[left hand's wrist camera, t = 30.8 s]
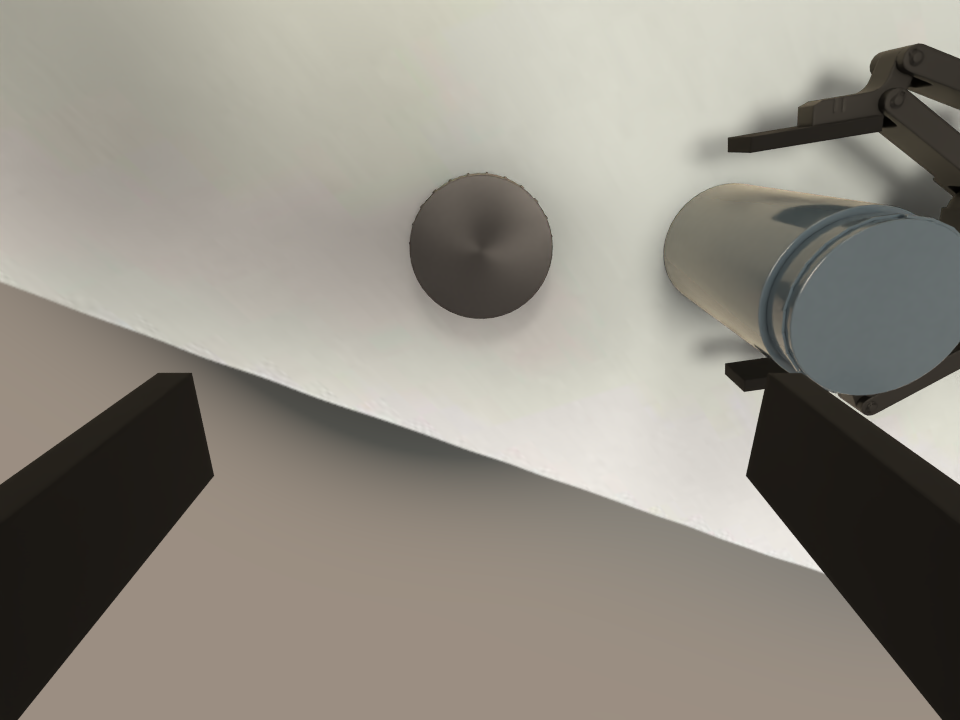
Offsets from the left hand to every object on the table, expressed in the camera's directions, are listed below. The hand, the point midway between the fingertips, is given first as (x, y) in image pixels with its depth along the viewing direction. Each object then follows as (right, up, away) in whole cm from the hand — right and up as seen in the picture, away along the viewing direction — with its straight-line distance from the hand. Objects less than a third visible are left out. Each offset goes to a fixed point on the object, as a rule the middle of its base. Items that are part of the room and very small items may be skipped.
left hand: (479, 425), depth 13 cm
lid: (0, +9, +22) cm, 24 cm away
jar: (+17, +9, +24) cm, 31 cm away
